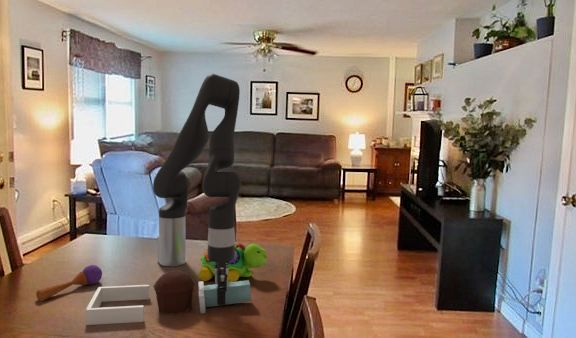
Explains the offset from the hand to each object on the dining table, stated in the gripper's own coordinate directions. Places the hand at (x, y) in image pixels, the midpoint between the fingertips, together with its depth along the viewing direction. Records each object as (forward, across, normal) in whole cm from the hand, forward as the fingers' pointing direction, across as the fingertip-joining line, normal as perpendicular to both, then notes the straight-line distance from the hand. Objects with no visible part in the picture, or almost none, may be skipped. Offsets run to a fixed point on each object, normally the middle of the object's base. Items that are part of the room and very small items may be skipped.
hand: (220, 301), depth 134 cm
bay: (+1, 0, +27) cm, 27 cm away
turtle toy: (+1, +24, -5) cm, 24 cm away
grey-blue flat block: (0, 0, 0) cm, 1 cm away
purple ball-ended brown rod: (+2, +18, +44) cm, 47 cm away
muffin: (+1, 0, +13) cm, 13 cm away
